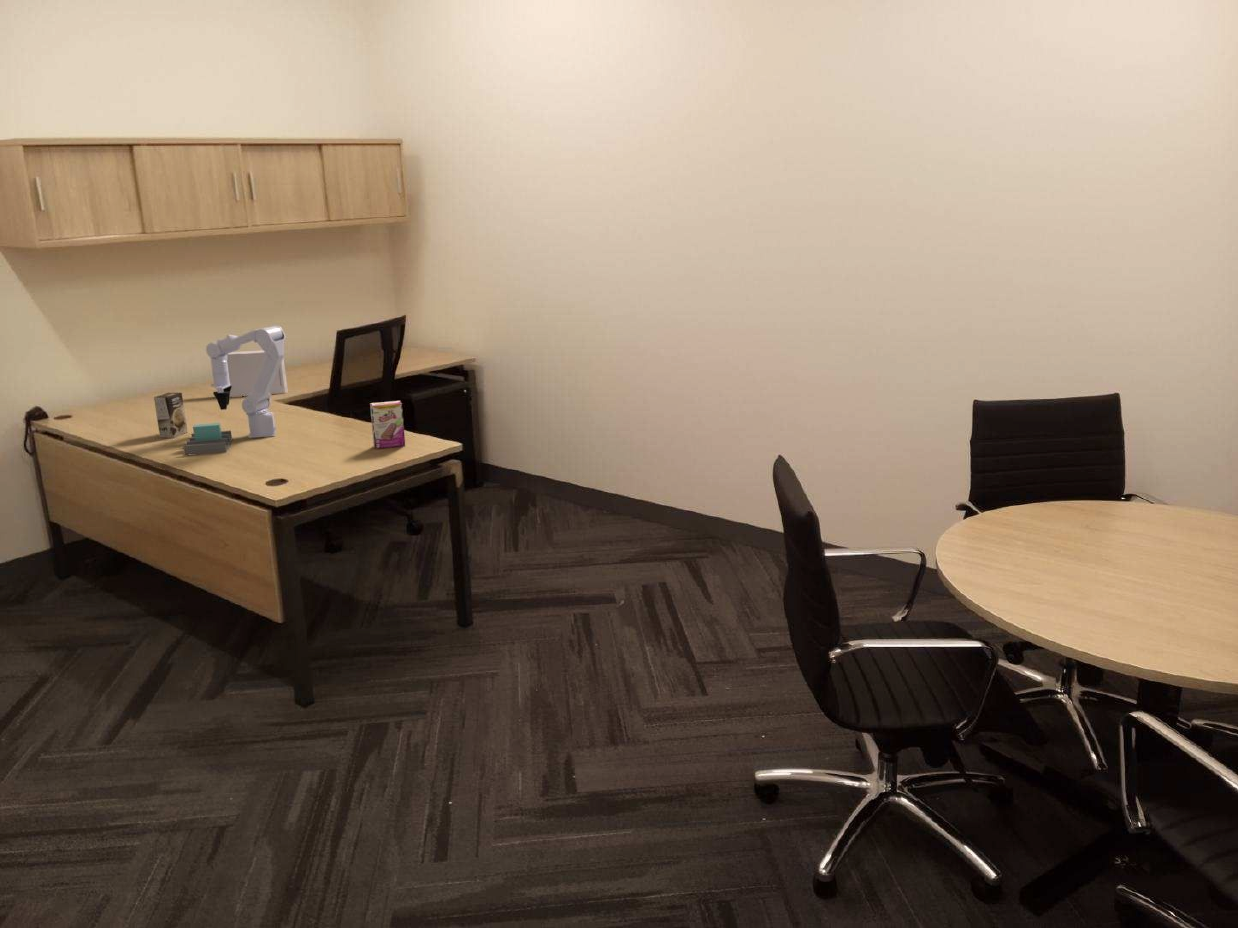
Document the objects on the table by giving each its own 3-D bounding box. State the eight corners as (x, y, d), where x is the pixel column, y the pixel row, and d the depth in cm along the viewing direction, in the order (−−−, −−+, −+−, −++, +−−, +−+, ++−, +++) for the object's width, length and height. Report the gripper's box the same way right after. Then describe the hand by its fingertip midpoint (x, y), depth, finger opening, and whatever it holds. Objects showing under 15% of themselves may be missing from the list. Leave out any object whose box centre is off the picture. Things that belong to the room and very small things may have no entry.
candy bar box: (375, 449, 351) (370, 406, 346) (373, 446, 356) (369, 403, 351) (406, 446, 355) (402, 402, 350) (404, 443, 359) (400, 400, 355)
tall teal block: (223, 442, 362) (220, 422, 360) (221, 444, 359) (219, 425, 356) (197, 444, 360) (194, 424, 357) (195, 446, 356) (192, 427, 354)
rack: (232, 439, 370) (230, 430, 369) (226, 452, 352) (224, 442, 351) (193, 442, 366) (191, 433, 365) (185, 455, 349) (183, 446, 348)
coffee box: (174, 438, 373) (167, 397, 368) (159, 437, 374) (152, 397, 369) (188, 432, 381) (182, 392, 377) (174, 431, 383) (167, 391, 378)
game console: (287, 393, 446) (282, 350, 440) (224, 398, 439) (218, 355, 433) (287, 391, 451) (282, 348, 445) (225, 395, 444) (219, 353, 438)
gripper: (211, 369, 377) (216, 403, 381) (206, 377, 364) (211, 412, 368) (231, 368, 379) (235, 402, 383) (226, 376, 366) (231, 410, 370)
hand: (224, 407), depth 376 cm, fingers open, 7 cm apart
